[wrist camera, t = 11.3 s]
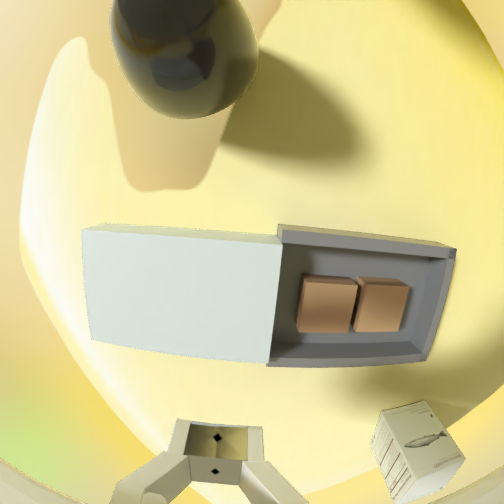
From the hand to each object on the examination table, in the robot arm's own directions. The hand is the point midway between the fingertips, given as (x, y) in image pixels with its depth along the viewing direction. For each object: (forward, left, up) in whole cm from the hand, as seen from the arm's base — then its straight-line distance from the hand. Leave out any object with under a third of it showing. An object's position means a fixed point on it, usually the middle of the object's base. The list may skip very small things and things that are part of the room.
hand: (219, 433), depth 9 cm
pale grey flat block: (0, -5, -18) cm, 18 cm away
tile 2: (+1, +13, -15) cm, 20 cm away
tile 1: (+1, +8, -17) cm, 19 cm away
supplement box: (+19, +23, -18) cm, 35 cm away
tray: (0, +12, -18) cm, 21 cm away
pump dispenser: (-19, -5, -18) cm, 26 cm away
